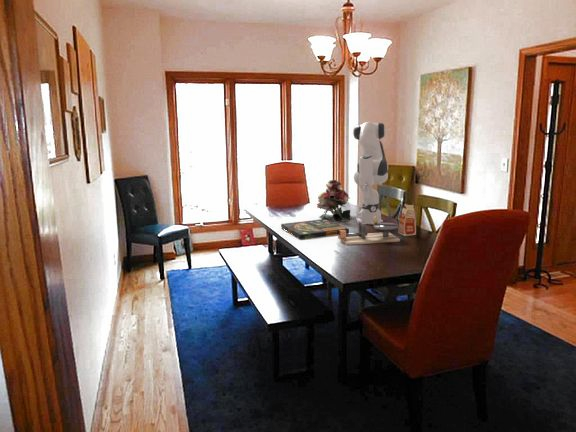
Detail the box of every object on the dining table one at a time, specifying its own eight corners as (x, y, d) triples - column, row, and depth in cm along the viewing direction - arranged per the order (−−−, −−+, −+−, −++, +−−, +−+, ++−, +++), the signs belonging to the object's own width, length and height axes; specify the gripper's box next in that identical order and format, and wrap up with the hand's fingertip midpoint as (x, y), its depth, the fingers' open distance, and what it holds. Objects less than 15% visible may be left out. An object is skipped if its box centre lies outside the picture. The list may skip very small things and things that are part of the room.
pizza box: (325, 223, 322) (325, 218, 321) (348, 233, 289) (348, 228, 289) (281, 228, 309) (281, 223, 309) (300, 240, 277) (300, 234, 277)
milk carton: (404, 236, 278) (405, 205, 274) (397, 232, 287) (398, 202, 283) (417, 234, 280) (418, 204, 276) (409, 231, 289) (410, 201, 285)
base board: (338, 237, 278) (337, 220, 276) (389, 234, 283) (389, 217, 281) (345, 244, 261) (345, 226, 259) (399, 241, 266) (400, 223, 263)
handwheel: (398, 224, 276) (398, 215, 275) (398, 230, 262) (398, 220, 261) (373, 224, 280) (374, 214, 279) (372, 229, 266) (372, 219, 264)
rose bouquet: (349, 214, 349) (349, 177, 343) (351, 222, 321) (351, 181, 315) (317, 214, 352) (317, 177, 346) (316, 222, 324) (315, 182, 318)
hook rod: (338, 237, 271) (338, 230, 270) (365, 235, 273) (365, 228, 272) (340, 239, 267) (340, 231, 266) (367, 237, 270) (367, 229, 269)
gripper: (371, 184, 255) (371, 207, 258) (371, 180, 275) (371, 201, 278) (360, 184, 256) (360, 207, 259) (361, 180, 276) (361, 201, 279)
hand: (366, 204), depth 268 cm, fingers open, 8 cm apart
